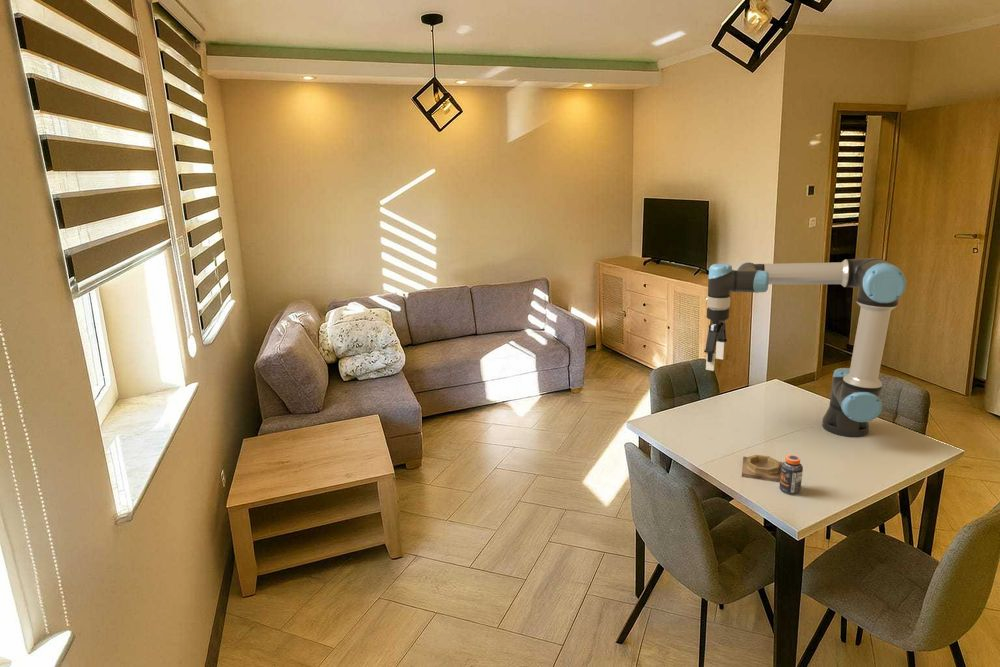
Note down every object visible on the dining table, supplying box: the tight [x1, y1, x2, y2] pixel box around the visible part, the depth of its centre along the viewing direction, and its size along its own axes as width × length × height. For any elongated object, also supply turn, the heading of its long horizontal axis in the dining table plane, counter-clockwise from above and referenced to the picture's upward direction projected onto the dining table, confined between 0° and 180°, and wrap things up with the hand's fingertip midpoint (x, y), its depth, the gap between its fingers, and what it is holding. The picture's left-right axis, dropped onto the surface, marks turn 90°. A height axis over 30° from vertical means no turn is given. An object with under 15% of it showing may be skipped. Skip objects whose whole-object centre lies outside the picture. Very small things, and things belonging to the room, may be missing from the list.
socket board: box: [741, 454, 783, 483], centre depth 199 cm, size 12×12×3 cm
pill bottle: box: [778, 454, 804, 496], centre depth 186 cm, size 6×6×11 cm
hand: (714, 364), depth 221 cm, fingers open, 13 cm apart
